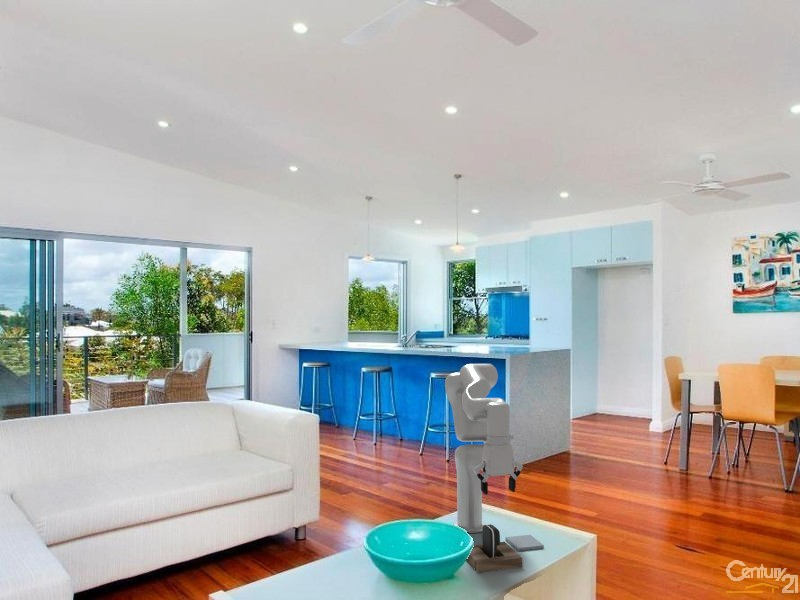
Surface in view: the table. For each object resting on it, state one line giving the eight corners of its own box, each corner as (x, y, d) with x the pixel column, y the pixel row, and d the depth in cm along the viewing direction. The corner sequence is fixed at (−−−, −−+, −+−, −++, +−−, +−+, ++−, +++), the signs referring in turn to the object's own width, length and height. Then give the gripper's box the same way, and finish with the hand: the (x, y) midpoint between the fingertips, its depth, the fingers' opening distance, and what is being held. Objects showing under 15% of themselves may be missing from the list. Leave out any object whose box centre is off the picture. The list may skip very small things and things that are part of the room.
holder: (462, 555, 194) (462, 546, 194) (504, 550, 198) (504, 541, 198) (477, 572, 181) (477, 562, 181) (522, 566, 185) (522, 557, 185)
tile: (505, 540, 207) (505, 537, 207) (530, 537, 209) (530, 534, 210) (517, 551, 197) (517, 548, 197) (543, 548, 200) (543, 545, 200)
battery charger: (501, 564, 187) (501, 529, 187) (491, 566, 186) (491, 530, 186) (492, 556, 193) (491, 522, 194) (481, 557, 192) (481, 523, 193)
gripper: (516, 435, 193) (517, 486, 193) (469, 438, 189) (469, 490, 188) (527, 440, 186) (527, 493, 186) (478, 444, 181) (478, 498, 181)
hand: (498, 492), depth 187 cm, fingers open, 9 cm apart
